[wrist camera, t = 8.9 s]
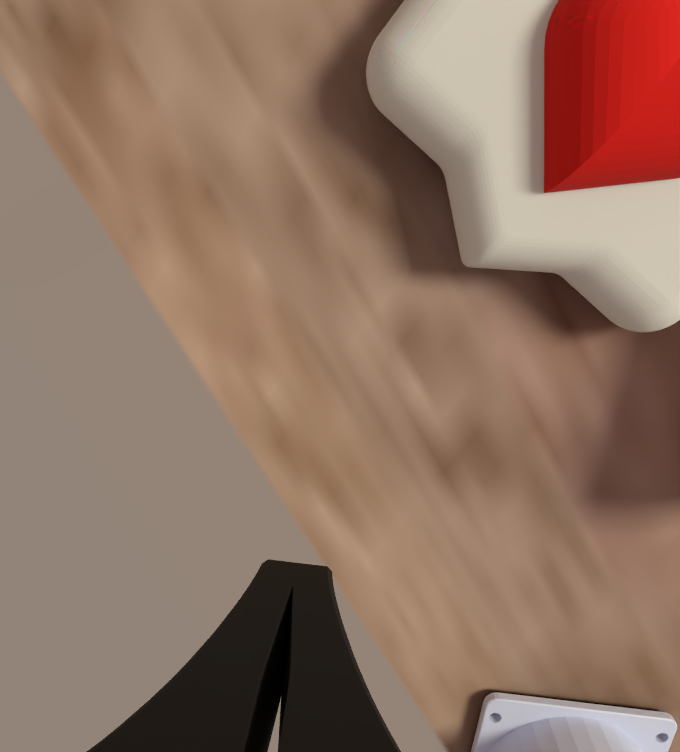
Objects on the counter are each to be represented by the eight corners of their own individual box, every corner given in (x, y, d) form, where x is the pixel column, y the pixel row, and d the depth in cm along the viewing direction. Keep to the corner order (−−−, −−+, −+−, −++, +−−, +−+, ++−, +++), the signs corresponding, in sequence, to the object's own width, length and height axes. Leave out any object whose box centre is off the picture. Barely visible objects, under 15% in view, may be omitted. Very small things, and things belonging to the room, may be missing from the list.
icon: (299, 117, 14) (612, -316, 11) (313, 134, 18) (545, -179, 15) (643, 419, 16) (975, 114, 13) (585, 372, 20) (829, 132, 17)
